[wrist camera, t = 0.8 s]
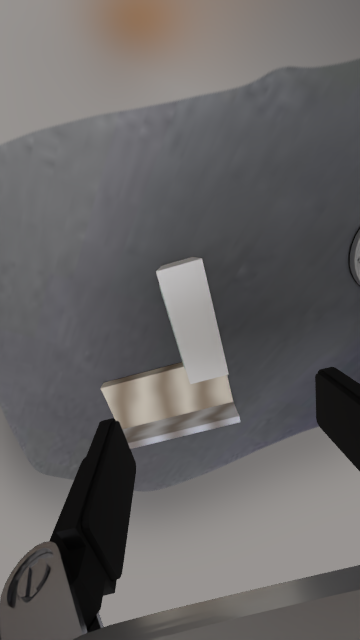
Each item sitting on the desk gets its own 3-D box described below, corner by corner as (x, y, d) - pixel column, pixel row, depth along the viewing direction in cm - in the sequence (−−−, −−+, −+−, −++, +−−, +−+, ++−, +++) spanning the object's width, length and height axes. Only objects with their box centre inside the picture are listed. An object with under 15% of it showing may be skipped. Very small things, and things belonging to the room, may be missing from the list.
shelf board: (220, 352, 33) (227, 367, 29) (232, 403, 36) (240, 423, 32) (103, 382, 34) (93, 402, 30) (125, 429, 37) (118, 453, 33)
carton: (192, 256, 29) (201, 258, 19) (212, 339, 33) (228, 374, 23) (160, 266, 29) (153, 272, 20) (183, 346, 33) (188, 384, 23)
